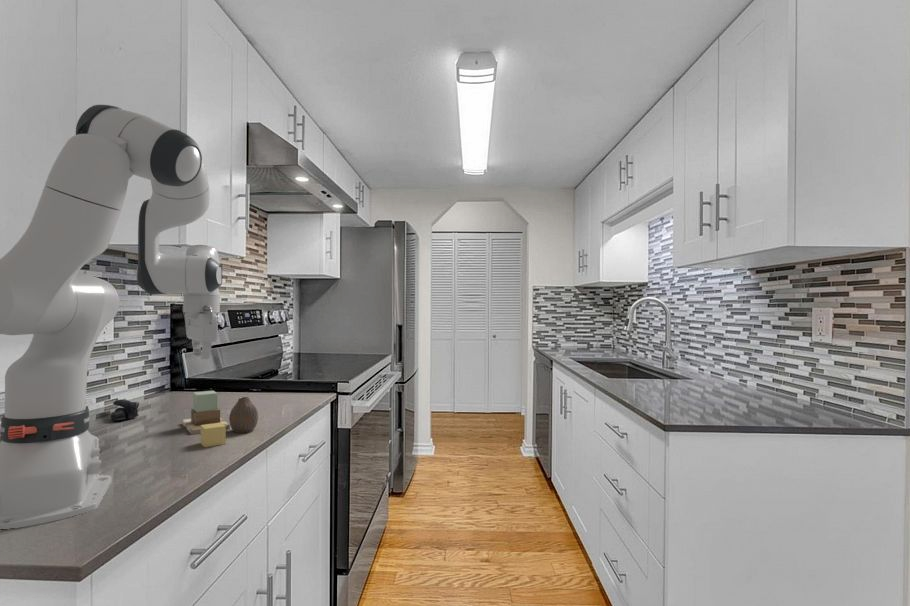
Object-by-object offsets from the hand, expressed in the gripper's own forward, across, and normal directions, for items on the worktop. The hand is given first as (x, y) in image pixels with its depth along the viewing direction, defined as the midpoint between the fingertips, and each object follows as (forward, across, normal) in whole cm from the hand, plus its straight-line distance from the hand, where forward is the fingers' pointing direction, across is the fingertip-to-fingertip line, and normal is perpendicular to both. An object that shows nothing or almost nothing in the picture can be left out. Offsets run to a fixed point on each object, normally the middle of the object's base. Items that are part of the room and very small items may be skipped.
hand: (201, 357), depth 134 cm
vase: (+19, -12, -8) cm, 24 cm away
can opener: (+19, +28, +15) cm, 37 cm away
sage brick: (+14, -1, -1) cm, 14 cm away
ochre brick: (+19, -20, +2) cm, 27 cm away
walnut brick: (+18, -1, -1) cm, 18 cm away
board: (+19, -1, -1) cm, 19 cm away
